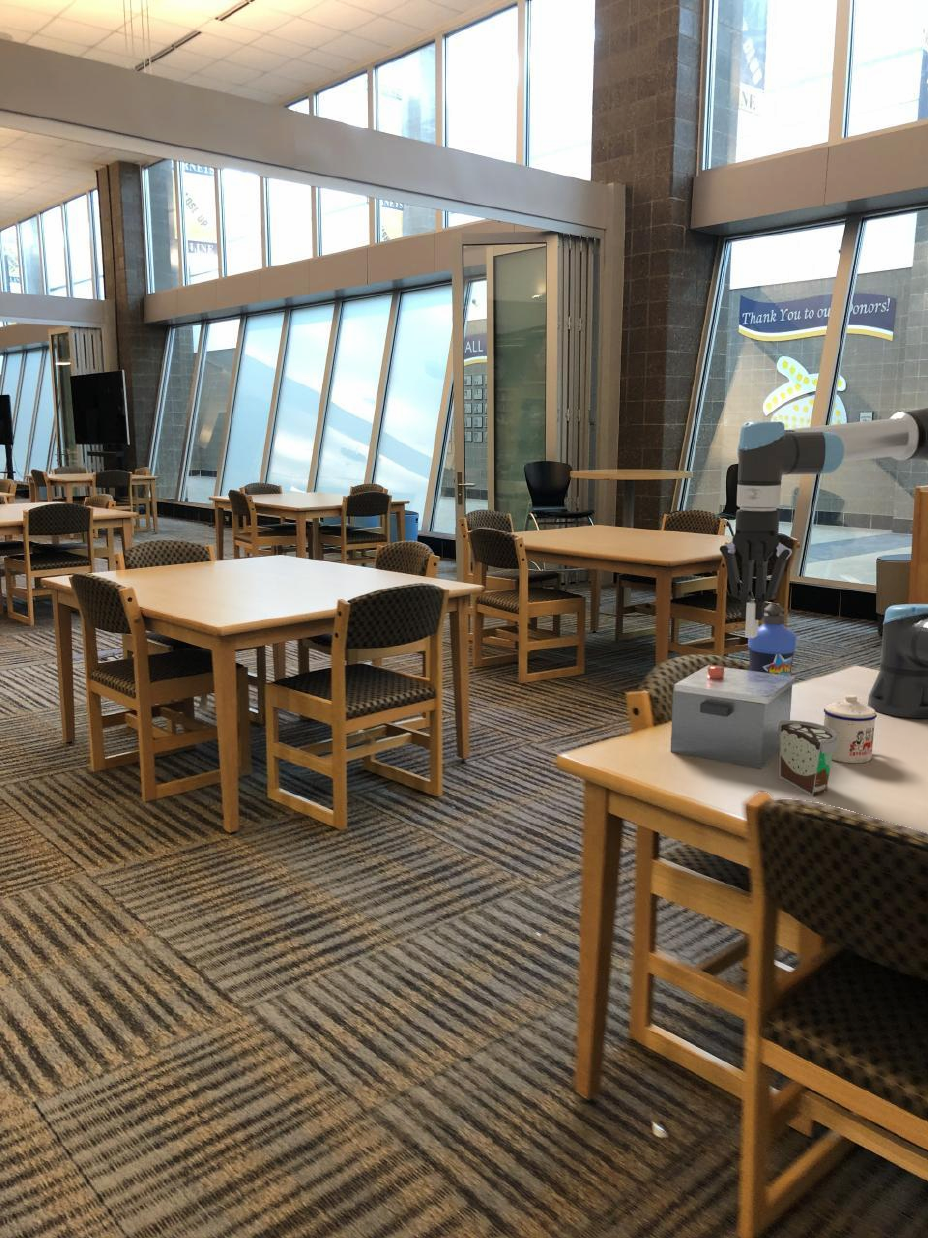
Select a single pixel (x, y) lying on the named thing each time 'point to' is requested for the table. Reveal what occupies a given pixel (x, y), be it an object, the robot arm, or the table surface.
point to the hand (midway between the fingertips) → (751, 636)
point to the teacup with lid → (851, 729)
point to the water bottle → (772, 645)
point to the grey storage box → (728, 728)
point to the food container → (806, 754)
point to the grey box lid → (735, 684)
